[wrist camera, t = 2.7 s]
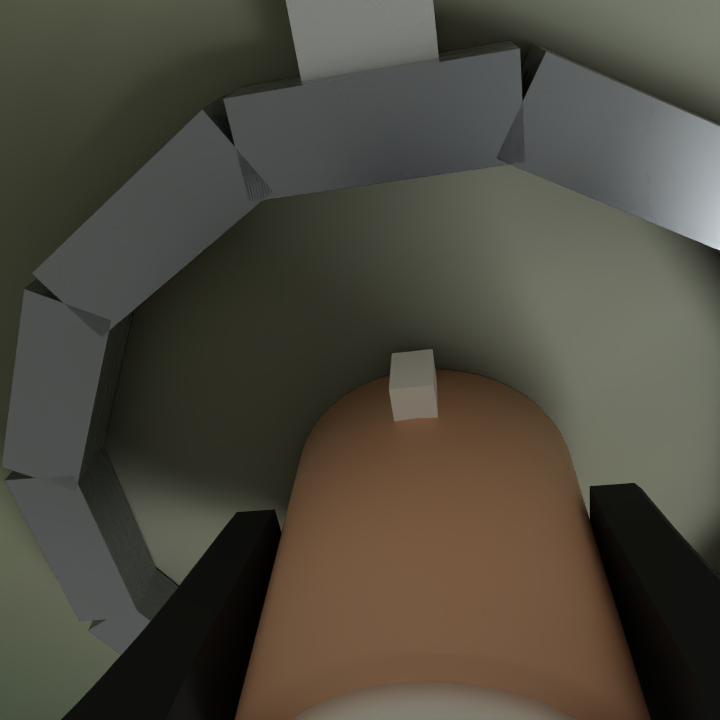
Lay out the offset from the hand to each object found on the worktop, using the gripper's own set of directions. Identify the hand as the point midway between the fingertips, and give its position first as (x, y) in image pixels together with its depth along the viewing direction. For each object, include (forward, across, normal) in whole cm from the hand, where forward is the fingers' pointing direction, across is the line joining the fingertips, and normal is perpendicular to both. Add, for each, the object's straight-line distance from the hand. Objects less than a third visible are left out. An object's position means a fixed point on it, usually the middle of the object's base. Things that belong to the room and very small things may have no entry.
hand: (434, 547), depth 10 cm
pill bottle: (+1, 0, 0) cm, 1 cm away
